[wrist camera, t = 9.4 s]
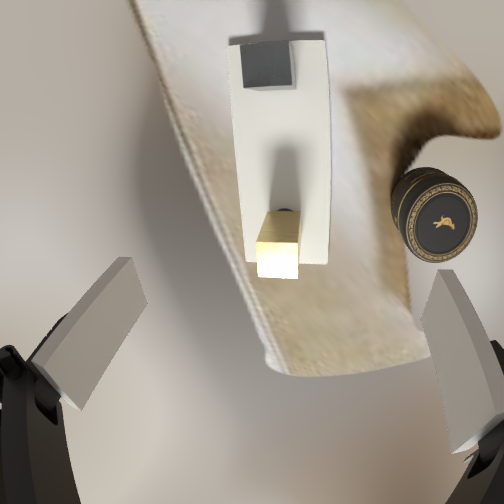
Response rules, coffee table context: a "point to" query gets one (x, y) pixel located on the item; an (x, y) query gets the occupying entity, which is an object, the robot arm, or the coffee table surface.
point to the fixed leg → (268, 66)
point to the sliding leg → (279, 244)
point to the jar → (433, 214)
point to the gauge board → (284, 149)
